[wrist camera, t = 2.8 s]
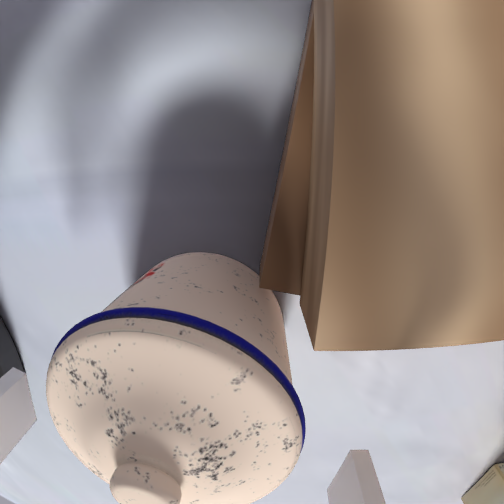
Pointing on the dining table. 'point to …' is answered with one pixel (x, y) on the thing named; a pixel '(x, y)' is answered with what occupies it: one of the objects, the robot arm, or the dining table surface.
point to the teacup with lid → (181, 387)
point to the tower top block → (406, 175)
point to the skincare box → (487, 488)
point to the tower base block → (292, 186)
